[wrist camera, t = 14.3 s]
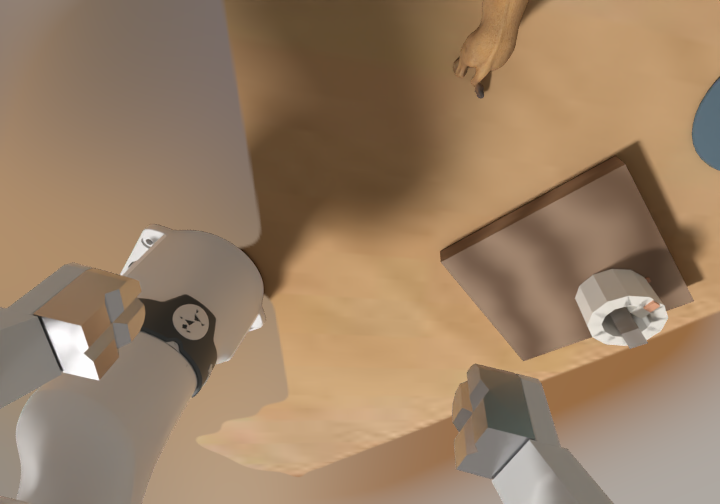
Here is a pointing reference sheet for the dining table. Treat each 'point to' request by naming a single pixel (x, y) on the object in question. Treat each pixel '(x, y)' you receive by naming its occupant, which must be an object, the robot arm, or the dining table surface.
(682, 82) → the dining table surface
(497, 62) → the lion figurine
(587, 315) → the white hollow tube
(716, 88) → the cocktail glass
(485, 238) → the board
